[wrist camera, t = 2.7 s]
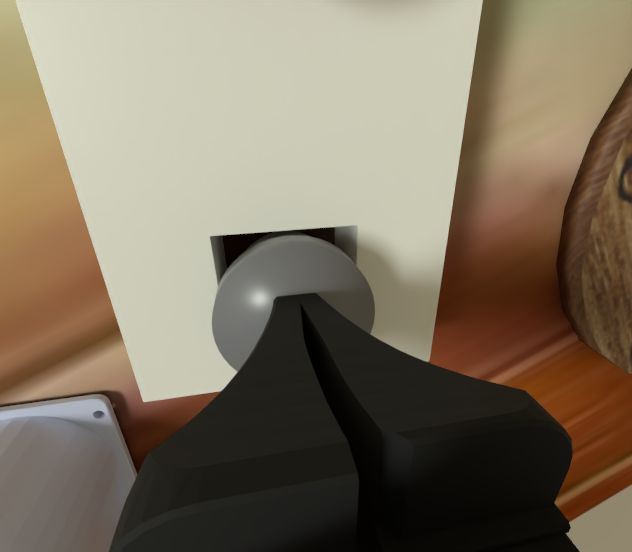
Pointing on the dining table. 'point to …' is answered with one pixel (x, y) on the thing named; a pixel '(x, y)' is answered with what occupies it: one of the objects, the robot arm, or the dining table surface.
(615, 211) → the trivet
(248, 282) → the button
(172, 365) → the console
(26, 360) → the dining table surface
